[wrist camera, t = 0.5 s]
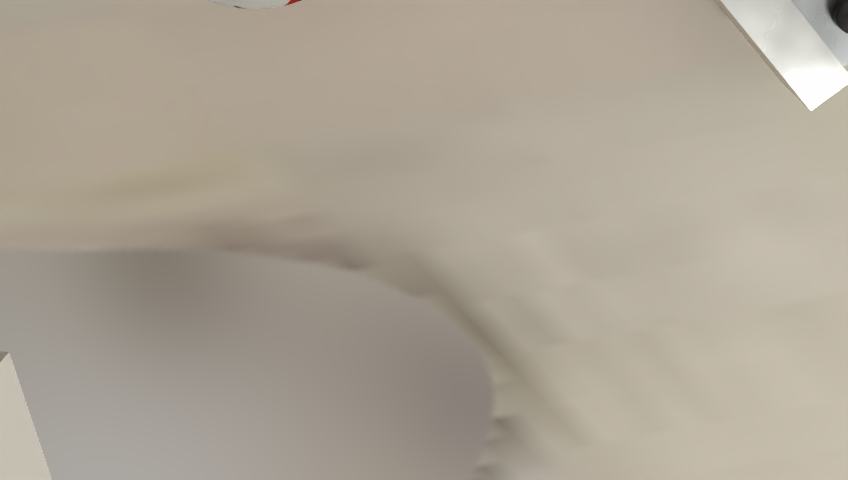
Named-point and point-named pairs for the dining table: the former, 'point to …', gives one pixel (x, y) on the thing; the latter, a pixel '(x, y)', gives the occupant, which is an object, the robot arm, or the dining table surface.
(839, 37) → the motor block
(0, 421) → the robot arm
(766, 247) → the dining table surface
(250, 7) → the soda can
